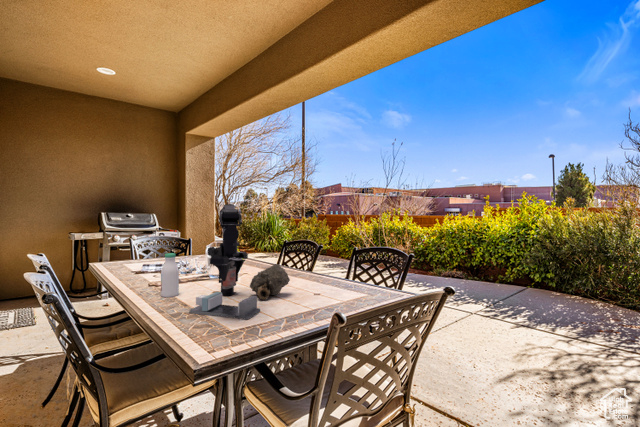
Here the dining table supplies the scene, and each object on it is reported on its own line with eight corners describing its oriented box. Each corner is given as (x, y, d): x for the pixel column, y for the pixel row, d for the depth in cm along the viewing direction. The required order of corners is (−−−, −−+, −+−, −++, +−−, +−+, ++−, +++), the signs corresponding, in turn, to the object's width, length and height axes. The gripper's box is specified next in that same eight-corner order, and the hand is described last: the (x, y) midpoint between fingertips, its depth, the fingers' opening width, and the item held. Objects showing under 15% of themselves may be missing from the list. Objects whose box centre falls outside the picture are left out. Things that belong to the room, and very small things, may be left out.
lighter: (228, 289, 120) (228, 263, 120) (220, 288, 120) (220, 263, 120) (237, 284, 127) (238, 260, 127) (230, 284, 128) (230, 260, 128)
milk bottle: (182, 294, 150) (182, 253, 150) (169, 298, 143) (170, 255, 143) (169, 292, 153) (170, 252, 152) (156, 296, 145) (157, 254, 145)
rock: (275, 258, 157) (271, 257, 142) (294, 279, 155) (292, 281, 140) (247, 283, 154) (240, 284, 140) (266, 305, 153) (261, 309, 138)
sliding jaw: (206, 302, 132) (206, 290, 132) (223, 304, 130) (223, 292, 130) (190, 309, 122) (191, 296, 122) (208, 311, 120) (208, 298, 120)
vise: (204, 305, 132) (205, 291, 132) (260, 311, 125) (260, 296, 125) (189, 313, 122) (189, 297, 122) (248, 319, 116) (248, 303, 115)
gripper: (225, 238, 135) (225, 273, 135) (197, 241, 117) (197, 282, 117) (248, 238, 132) (248, 275, 132) (223, 242, 114) (222, 284, 114)
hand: (229, 279), depth 124 cm, fingers closed on lighter, 8 cm apart
